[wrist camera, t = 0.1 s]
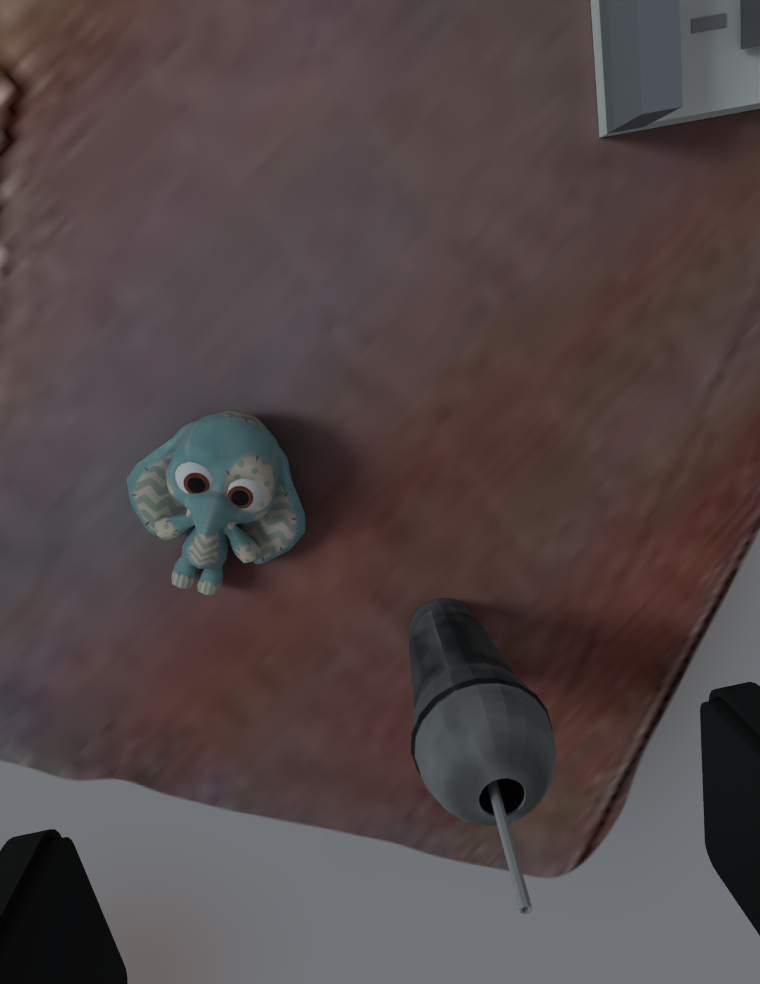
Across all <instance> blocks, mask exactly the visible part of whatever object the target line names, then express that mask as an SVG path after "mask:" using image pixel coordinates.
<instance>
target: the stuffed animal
mask: <svg viewBox="0 0 760 984" xmlns="http://www.w3.org/2000/svg"><path fill="white" fill-rule="evenodd" d="M127 486H128V492H129V497H130V503H131V506H132V507H133V509H134V510H135V512H136V514H137V515H138V517H139V518H140V520H141V521H142V523H143V525H144V526H145V528H146V529H147V530H148V531H149V532H150V533H151V534H152V535H153V536H156V535H158V536H159V537H160V538H161V539H162V540H169V539H173V538H176V537H178V536H180V535H181V534H183V533H184V532H185V531H186V530H188V529H189V528H190V527H192V526H194V527H193V528H192V529H191V530H190V532H189V533H188V536H187V538H186V540H185V542H184V544H183V546H182V555H181V557H180V558H179V560H178V561H177V562H176V564H175V566H174V569H173V573H172V578H171V579H172V584H173V585H175V586H177V587H179V588H186V589H189V588H190V587H192V586H193V585H194V583H195V579H196V567H197V568H198V569H204V570H203V571H202V573H201V575H200V577H199V580H198V584H197V588H198V591H199V592H201V593H203V594H205V595H216V594H217V593H218V592H219V591H220V588H221V585H222V581H223V569H222V567H223V563H224V562H225V561H226V559H227V553H228V547H229V540H230V543H231V546H232V549H233V551H234V553H235V554H236V556H237V557H238V558H239V559H240V560H241V561H242V562H243V563H248V562H254V563H255V564H260V563H264V562H268V561H270V560H272V559H273V558H275V557H277V556H279V555H281V554H283V553H285V552H287V551H289V550H290V549H291V548H292V547H293V546H294V545H295V544H296V542H297V541H298V540H299V539H300V538H301V537H302V535H303V534H304V533H305V513H304V510H303V508H302V505H301V502H300V500H299V497H298V495H297V492H296V490H295V487H294V485H293V482H292V478H291V473H290V468H289V463H288V459H287V457H286V455H285V454H284V452H283V451H282V449H281V448H280V447H279V446H278V443H277V441H276V439H275V437H274V436H273V435H272V434H271V433H270V431H269V430H268V429H267V428H266V426H265V425H264V424H263V423H262V422H261V421H260V420H259V419H257V418H256V417H255V416H253V415H252V414H249V413H247V412H244V411H239V410H228V411H225V412H221V413H217V414H212V415H208V416H204V417H203V418H201V419H199V420H197V421H193V422H191V423H189V424H186V425H185V426H183V427H182V428H180V430H179V431H178V432H177V433H176V434H175V435H174V436H173V438H172V439H170V440H169V441H167V442H166V443H165V444H163V445H162V446H160V447H159V448H158V449H156V450H155V451H154V452H152V453H151V454H150V455H148V456H147V457H145V458H144V459H143V460H141V461H140V462H139V463H137V464H136V465H135V467H134V469H133V470H132V472H131V473H130V475H129V477H128V478H127ZM236 524H238V525H239V528H240V529H239V528H238V526H237V525H236Z"/></svg>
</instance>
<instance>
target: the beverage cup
mask: <svg viewBox="0 0 760 984" xmlns="http://www.w3.org/2000/svg"><path fill="white" fill-rule="evenodd" d="M409 635H410V639H409V650H410V662H411V673H412V685H413V697H414V709H415V710H414V721H413V731H412V739H411V753H412V756H413V759H414V762H415V765H416V768H417V770H418V772H419V773H420V775H421V776H422V779H423V781H424V783H425V785H426V787H427V789H428V790H429V791H430V792H431V794H432V795H433V796H434V797H435V798H436V799H437V800H438V802H439V803H440V804H441V805H442V806H443V807H444V808H445V809H446V810H447V811H449V812H450V813H452V814H454V815H455V816H457V817H459V818H461V819H462V820H464V821H467V822H470V823H474V824H479V825H483V826H495V825H498V829H499V833H500V837H501V840H502V844H503V848H504V852H505V856H506V859H507V863H508V867H509V871H510V874H511V878H512V882H513V886H514V890H515V894H516V897H517V901H518V905H519V909H520V913H523V914H528V913H530V912H531V911H532V906H531V903H530V899H529V895H528V892H527V888H526V885H525V881H524V877H523V874H522V870H521V867H520V863H519V859H518V856H517V852H516V849H515V845H514V841H513V838H512V834H511V831H510V827H509V823H510V822H513V821H516V820H518V819H520V818H522V817H523V816H525V815H526V814H528V813H530V812H531V811H532V810H533V809H534V808H535V807H536V806H537V805H538V804H539V802H540V801H541V800H542V799H543V797H544V796H545V793H546V791H547V789H548V787H549V785H550V783H551V781H552V778H553V774H554V766H555V757H556V747H555V742H554V738H553V734H552V727H551V723H550V719H549V715H548V712H547V709H546V707H545V706H544V705H543V703H542V702H541V701H540V699H539V698H538V697H537V695H536V694H535V693H533V692H532V691H530V690H529V689H528V687H527V686H526V685H525V684H524V683H523V682H522V681H521V680H520V679H519V678H518V677H517V676H515V675H514V673H513V672H512V670H511V669H510V667H509V666H508V664H507V663H506V661H505V660H504V658H503V657H502V655H501V654H500V653H499V651H498V650H497V648H496V647H495V645H494V644H493V642H492V641H491V639H490V638H489V636H488V635H487V633H486V632H485V630H484V629H483V627H482V626H481V624H480V623H479V622H478V620H477V619H476V618H475V616H474V615H472V613H471V612H470V610H469V609H468V608H467V607H466V606H465V605H463V604H462V603H461V602H459V601H456V600H452V599H449V598H448V599H436V600H433V601H430V602H427V603H426V604H424V605H423V606H421V607H420V608H419V609H418V610H417V611H416V613H415V614H414V615H413V617H412V620H411V622H410V626H409Z"/></svg>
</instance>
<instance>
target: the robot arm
mask: <svg viewBox="0 0 760 984" xmlns="http://www.w3.org/2000/svg"><path fill="white" fill-rule="evenodd" d="M700 719H701V746H702V774H703V802H704V829H705V845H706V849H707V853H708V855H709V858H710V861H711V863H712V865H713V867H714V868H715V870H716V872H717V873H718V875H719V876H720V878H721V879H722V881H723V882H724V883H725V885H726V887H727V888H728V889H729V891H730V892H731V894H732V895H733V897H734V898H735V900H736V901H737V903H738V904H739V906H740V907H741V909H742V910H743V912H744V913H745V915H746V916H747V917H748V919H749V920H750V922H751V923H752V925H753V926H754V928H755V929H756V931H757V932H758V934H759V935H760V686H758V685H757V684H756V683H752V682H747V683H742V684H738V685H733V686H728V687H723V688H719V689H715V690H712V691H711V693H710V696H709V701H708V702H704V703H702V705H701V708H700ZM0 984H127V972H126V968H125V966H124V963H123V961H122V958H121V956H120V953H119V951H118V949H117V946H116V944H115V941H114V939H113V937H112V934H111V932H110V929H109V927H108V925H107V922H106V920H105V918H104V915H103V913H102V910H101V908H100V906H99V903H98V901H97V898H96V896H95V893H94V891H93V889H92V886H91V884H90V881H89V879H88V877H87V874H86V872H85V870H84V867H83V865H82V862H81V860H80V858H79V855H78V853H77V850H76V848H75V846H74V843H73V842H72V840H71V839H70V838H68V837H65V838H62V837H61V835H60V834H59V832H57V831H56V830H55V829H54V830H45V831H41V832H36V833H31V834H26V835H21V836H17V837H13V838H11V839H9V840H8V841H7V842H6V844H5V845H4V846H3V848H2V849H1V851H0Z"/></svg>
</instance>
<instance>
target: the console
mask: <svg viewBox="0 0 760 984" xmlns="http://www.w3.org/2000/svg"><path fill="white" fill-rule="evenodd" d="M591 15H592V30H593V45H594V61H595V76H596V91H597V107H598V122H599V138H602V137H607V136H613V135H618V134H624V133H629V132H635V131H640V130H646V129H651V128H657V127H662V126H668V125H673V124H679V123H684V122H690V121H695V120H701V119H706V118H712V117H717V116H723V115H728V114H734V113H739V112H745V111H750V110H756V109H760V46H758V47H753V48H747V49H741V17H740V0H591Z"/></svg>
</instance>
